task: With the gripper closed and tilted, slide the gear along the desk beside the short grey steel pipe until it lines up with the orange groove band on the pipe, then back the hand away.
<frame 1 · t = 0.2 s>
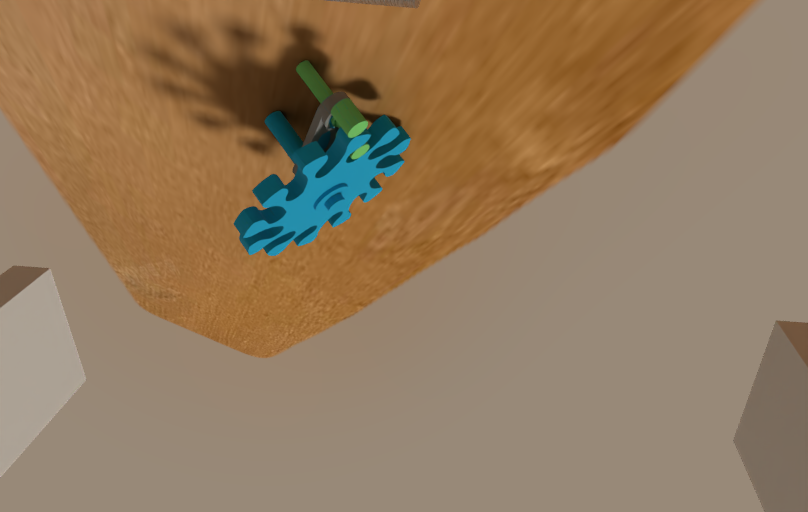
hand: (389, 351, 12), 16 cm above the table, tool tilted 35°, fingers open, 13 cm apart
gear: (341, 120, 32), on the table
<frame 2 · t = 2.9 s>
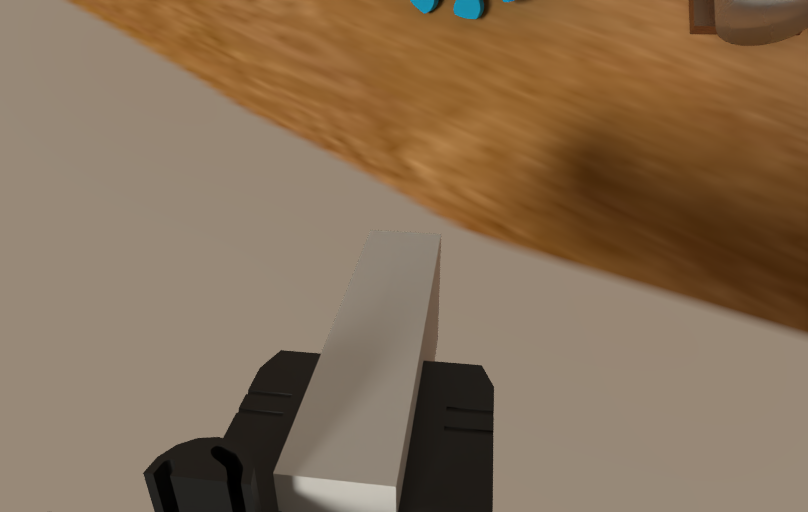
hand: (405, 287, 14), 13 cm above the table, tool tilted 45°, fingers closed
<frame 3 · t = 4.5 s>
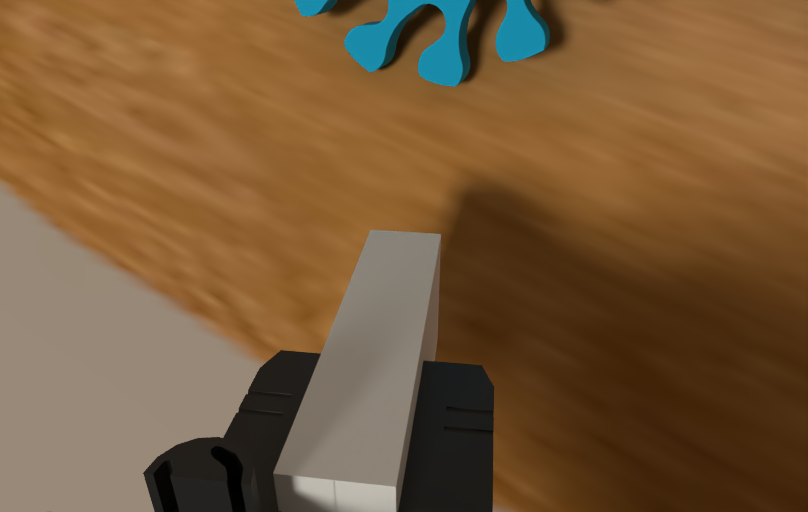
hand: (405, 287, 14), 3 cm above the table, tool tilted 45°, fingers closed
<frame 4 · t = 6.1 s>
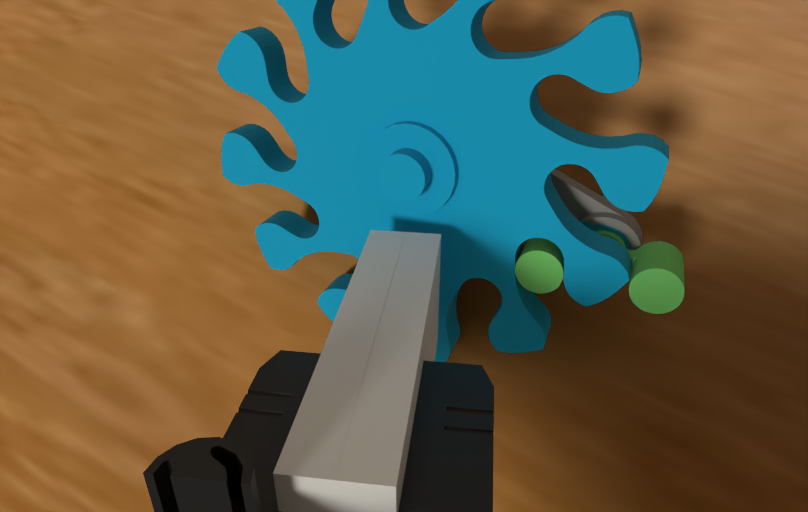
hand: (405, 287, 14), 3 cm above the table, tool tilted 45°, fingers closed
gear: (446, 228, 17), on the table, touching gripper
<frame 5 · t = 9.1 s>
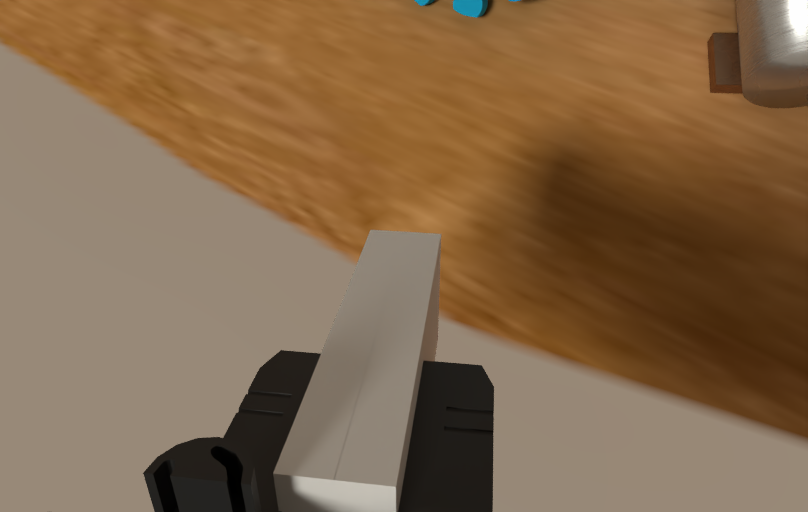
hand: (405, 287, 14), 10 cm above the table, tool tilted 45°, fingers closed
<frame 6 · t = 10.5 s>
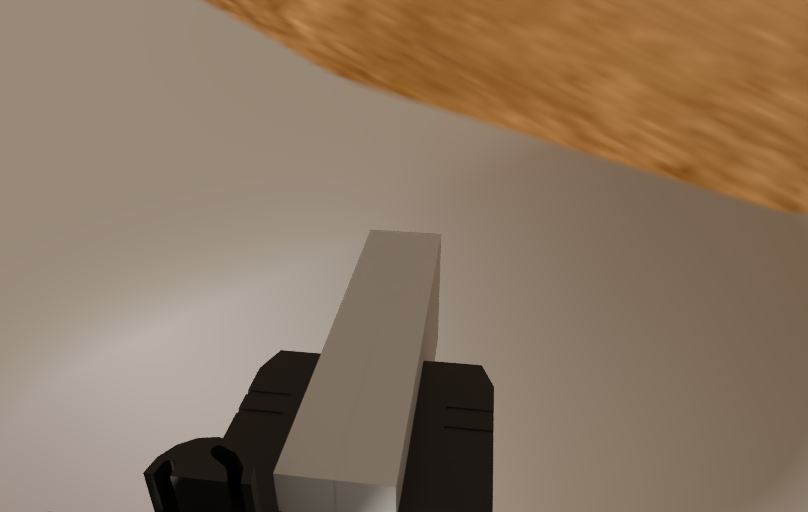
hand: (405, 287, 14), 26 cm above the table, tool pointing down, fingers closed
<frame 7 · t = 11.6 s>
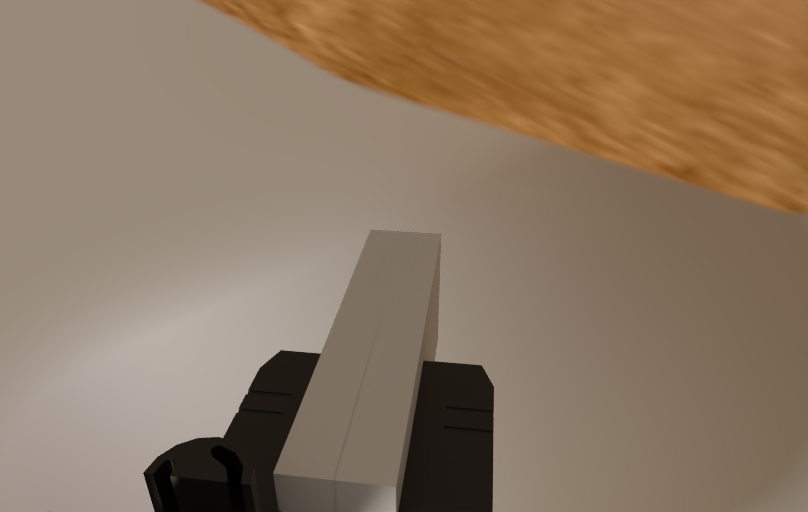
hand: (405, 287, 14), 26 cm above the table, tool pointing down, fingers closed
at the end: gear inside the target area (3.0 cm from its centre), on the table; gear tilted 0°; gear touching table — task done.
